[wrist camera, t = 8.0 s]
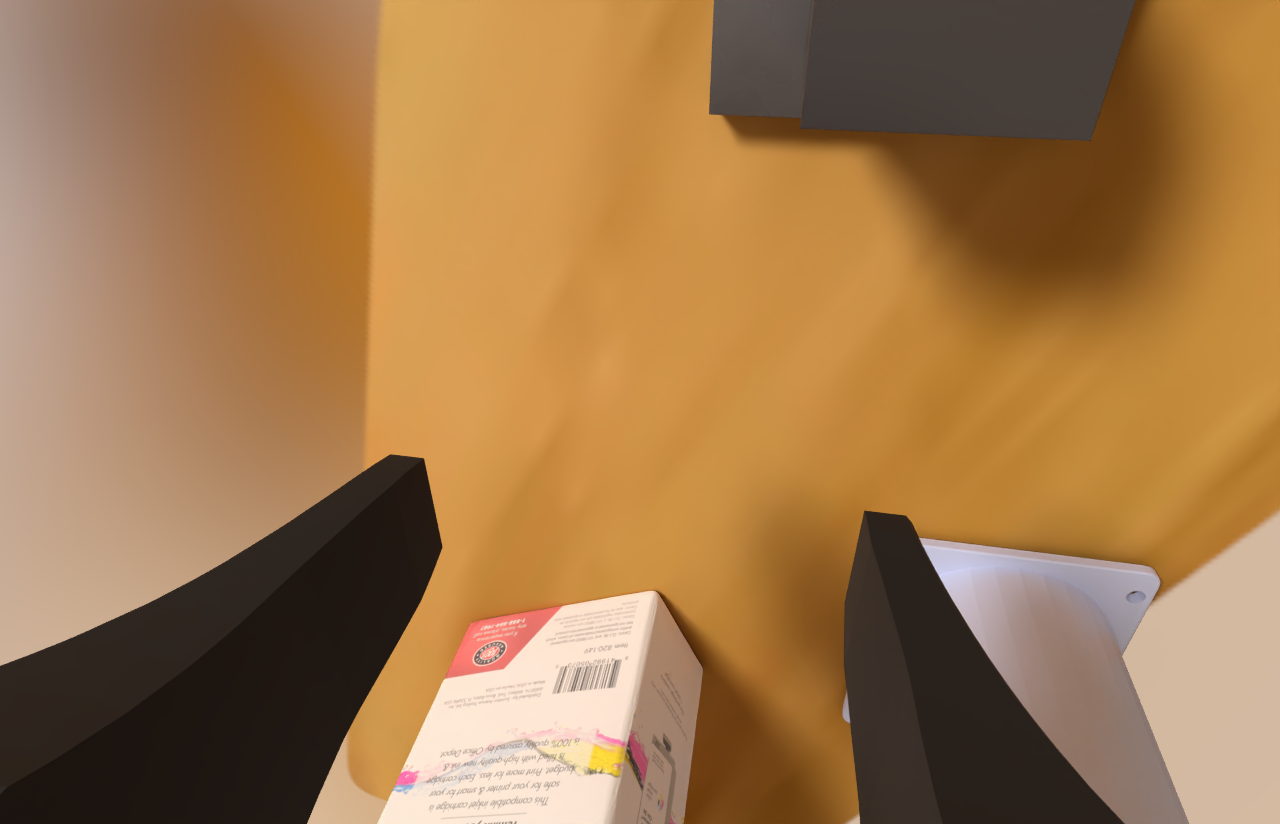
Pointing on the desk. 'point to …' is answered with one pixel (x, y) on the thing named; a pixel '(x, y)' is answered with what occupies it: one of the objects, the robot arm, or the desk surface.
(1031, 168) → the desk surface
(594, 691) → the ink cartridge box
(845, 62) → the link
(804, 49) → the frame
